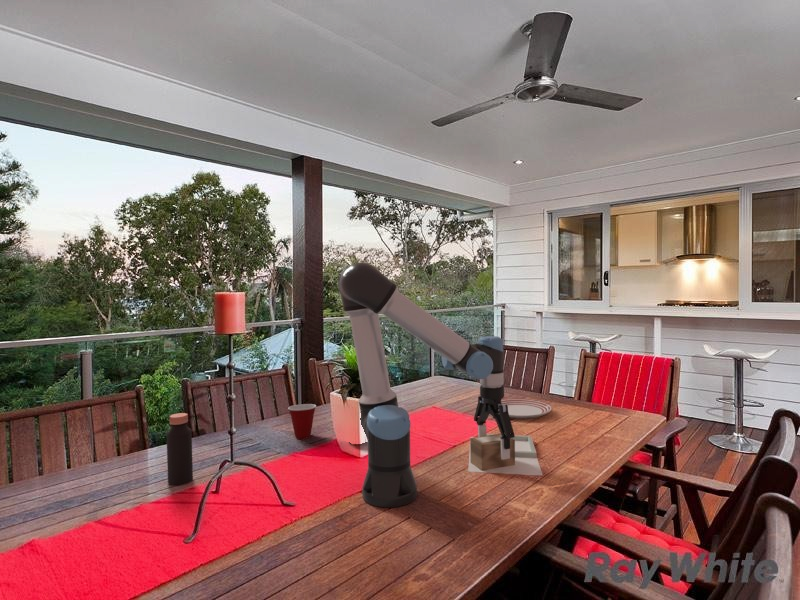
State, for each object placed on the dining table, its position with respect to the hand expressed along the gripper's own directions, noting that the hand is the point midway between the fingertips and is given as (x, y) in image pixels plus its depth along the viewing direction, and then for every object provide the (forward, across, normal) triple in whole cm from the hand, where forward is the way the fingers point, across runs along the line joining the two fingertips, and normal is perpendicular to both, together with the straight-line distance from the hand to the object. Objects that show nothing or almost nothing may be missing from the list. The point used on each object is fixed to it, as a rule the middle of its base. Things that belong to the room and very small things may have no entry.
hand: (493, 451), depth 146 cm
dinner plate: (+5, +47, -42) cm, 63 cm away
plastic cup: (+4, +52, +53) cm, 74 cm away
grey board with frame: (+4, +6, -7) cm, 10 cm away
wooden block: (+4, 0, 0) cm, 4 cm away
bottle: (+3, +25, +93) cm, 96 cm away
